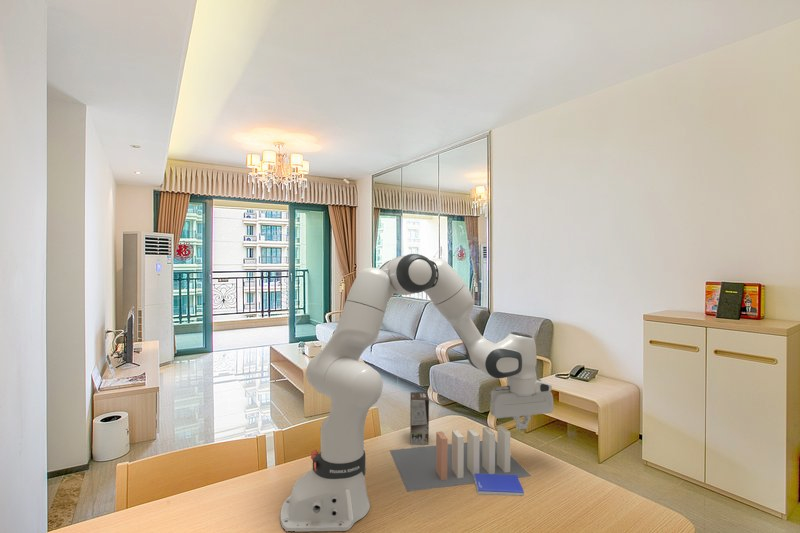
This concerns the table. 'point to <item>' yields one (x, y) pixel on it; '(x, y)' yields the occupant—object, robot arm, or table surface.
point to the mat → (421, 468)
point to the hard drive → (498, 484)
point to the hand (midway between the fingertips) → (521, 428)
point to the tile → (441, 455)
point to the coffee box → (419, 418)
